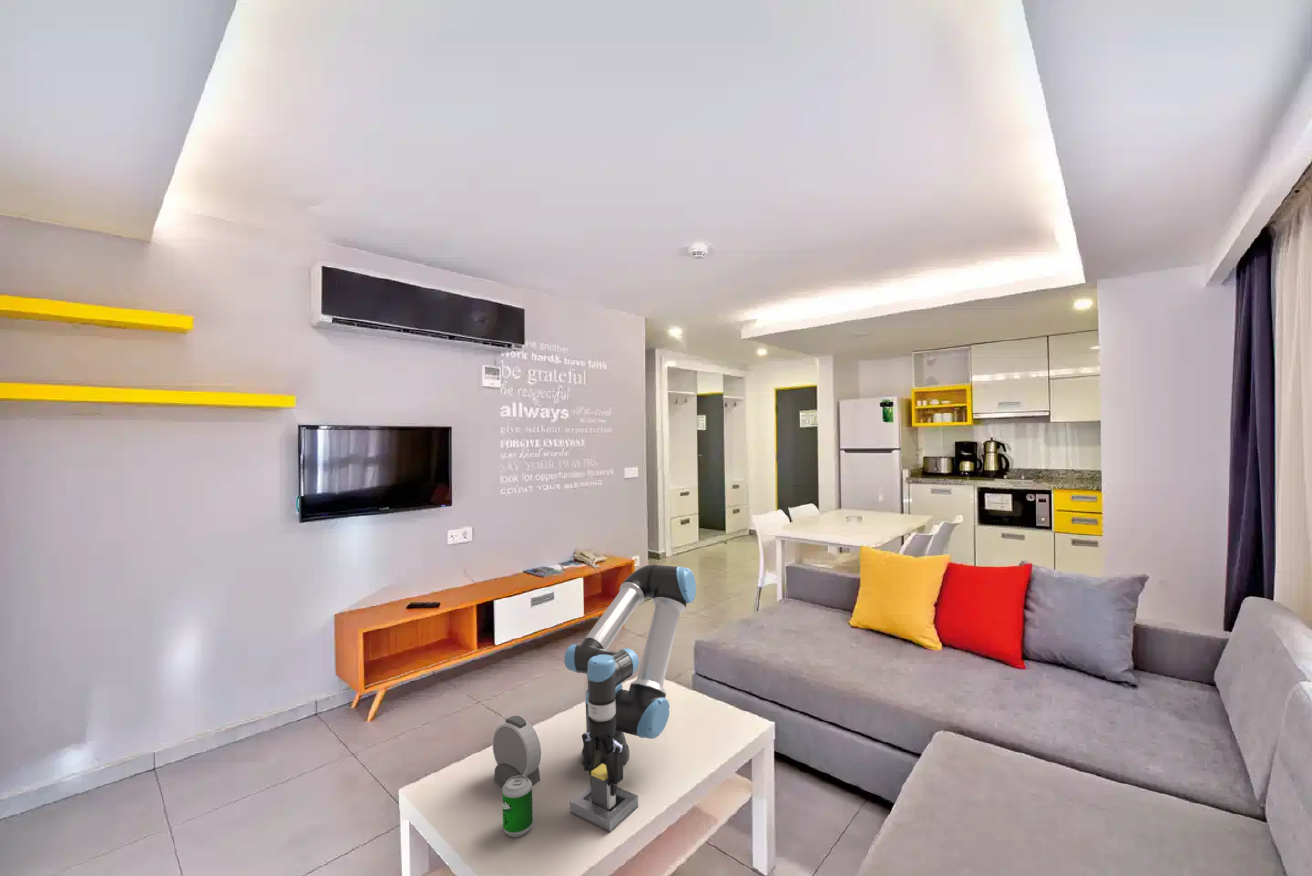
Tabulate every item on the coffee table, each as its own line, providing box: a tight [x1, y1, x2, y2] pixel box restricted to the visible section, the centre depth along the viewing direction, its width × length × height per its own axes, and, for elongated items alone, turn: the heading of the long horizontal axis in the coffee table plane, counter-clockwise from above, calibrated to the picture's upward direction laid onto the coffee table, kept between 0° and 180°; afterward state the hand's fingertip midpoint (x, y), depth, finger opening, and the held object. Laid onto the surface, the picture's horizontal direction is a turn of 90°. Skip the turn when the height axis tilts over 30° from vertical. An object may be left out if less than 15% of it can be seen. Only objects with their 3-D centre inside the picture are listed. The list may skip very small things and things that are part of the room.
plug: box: [590, 764, 609, 810], centre depth 147 cm, size 5×5×9 cm
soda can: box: [501, 775, 534, 838], centre depth 140 cm, size 8×8×12 cm
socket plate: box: [569, 785, 639, 833], centre depth 147 cm, size 14×12×4 cm
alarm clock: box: [492, 715, 542, 789], centre depth 162 cm, size 16×10×18 cm, turn 56°
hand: (603, 802), depth 147 cm, fingers closed on plug, 5 cm apart
